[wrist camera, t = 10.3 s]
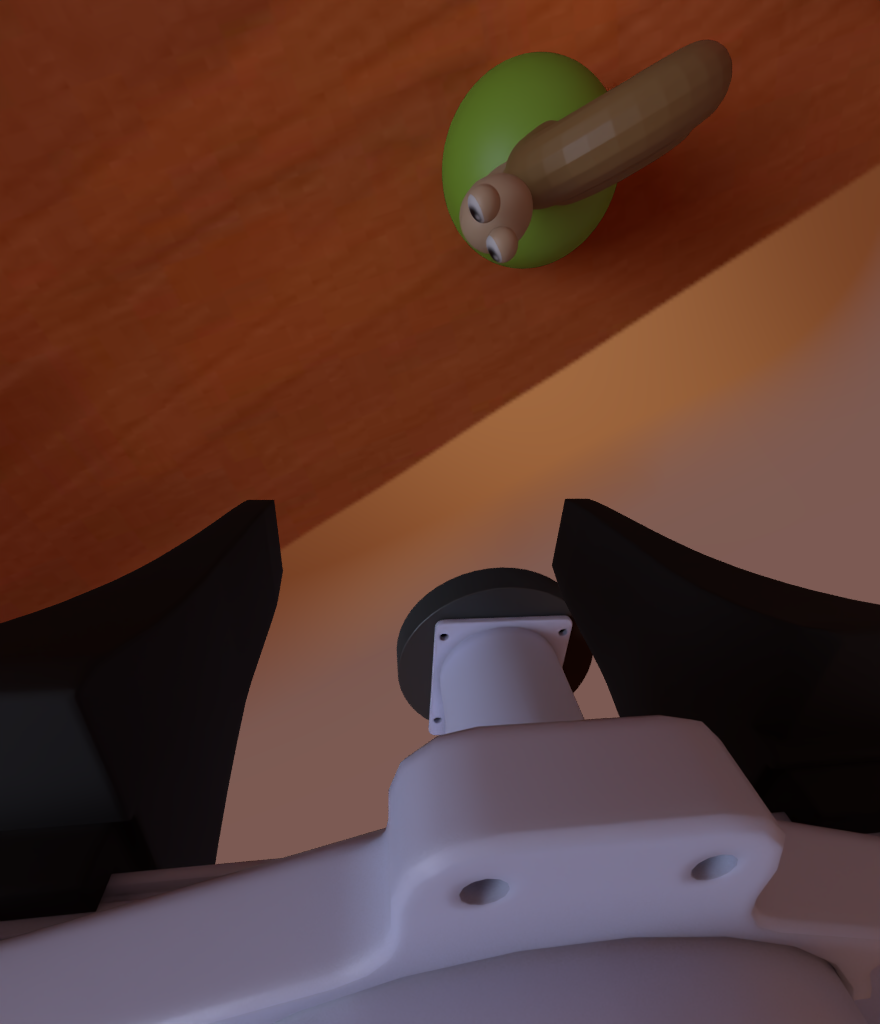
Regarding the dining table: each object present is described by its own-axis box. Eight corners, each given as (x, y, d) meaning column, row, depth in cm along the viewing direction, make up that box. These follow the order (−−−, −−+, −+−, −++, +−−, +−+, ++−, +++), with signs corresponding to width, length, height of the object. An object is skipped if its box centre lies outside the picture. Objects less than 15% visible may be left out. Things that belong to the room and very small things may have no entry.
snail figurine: (380, 162, 17) (386, 28, 6) (545, 45, 16) (872, -339, 5) (455, 307, 19) (547, 381, 9) (602, 214, 18) (899, 174, 8)
